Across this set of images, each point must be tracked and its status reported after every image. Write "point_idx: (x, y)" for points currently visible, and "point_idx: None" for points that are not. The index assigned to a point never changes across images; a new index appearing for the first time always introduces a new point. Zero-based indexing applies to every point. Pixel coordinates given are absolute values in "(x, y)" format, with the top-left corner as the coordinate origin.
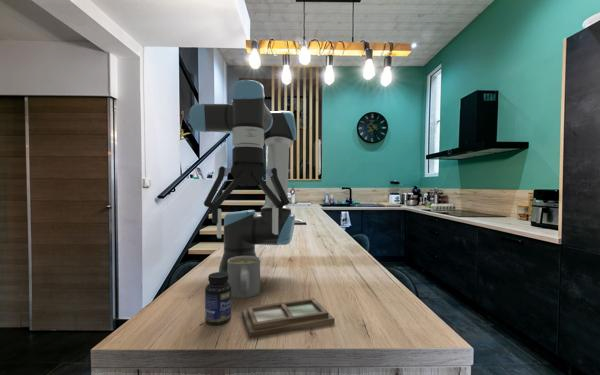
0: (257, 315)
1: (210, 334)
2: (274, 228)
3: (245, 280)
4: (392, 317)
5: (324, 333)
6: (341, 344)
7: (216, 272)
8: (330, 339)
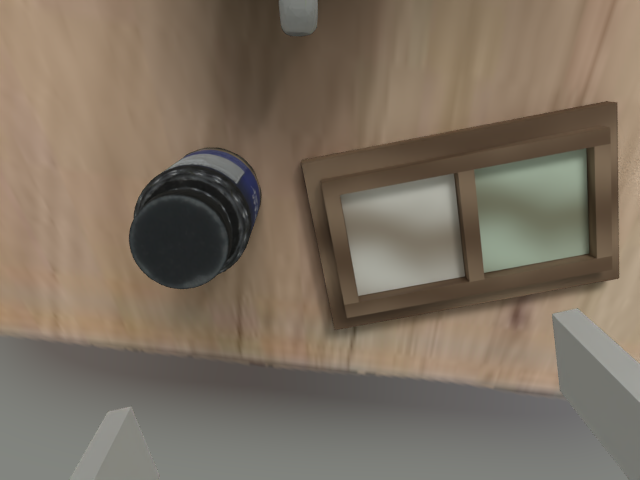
0: (359, 224)
1: (210, 285)
2: (581, 397)
3: (308, 31)
4: None
5: None
6: None
7: (159, 202)
8: None
